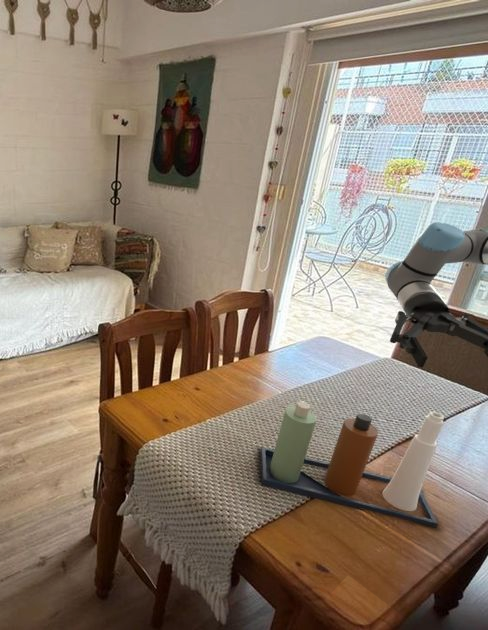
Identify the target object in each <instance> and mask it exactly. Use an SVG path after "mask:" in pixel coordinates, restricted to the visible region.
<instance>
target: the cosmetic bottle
mask: <svg viewBox="0 0 488 630" xmlns="http://www.w3.org/2000/svg"><path fill="white" fill-rule="evenodd" d="M444 420H445V416H444V415H443V414H441V413H440V412H437V411H429V413H428V414H427V415H426V416H425V417H424V420H423V422H422V424H421V427H420V429H419V431H418V433H417V434H415V435H414V436H413V438H412V440H411V441H410V444H409V445H408V447H407V449H406V451H405V453H404V455H403V457H402V459H401V461H400V463H399V465H398V467H397V468H396V471H394V474H393V476H392V477H391V478H392V479H391V481H390V482H389V483H387V486H386V487H385V488H384V489H383V490H382V492H381V494H382V497H383V499H384V500H385V501H386V502H387V503H388V504H389V505H391V506H392V507H394V508H396V509H398V510H401V511H403V512H404V511H405V512H414V511H416V510H417V508H418V502H419V499H418V498H419V494H420V491H421V490H422V487H423V485H424V481H425V479H426V476H427V473H428V471H429V469H430V466H431V464H432V461H433V458H434V455H435V452H436V450H437V446H438V443H437V439H438V437H439V435H440V432H441V431H442V428H443V426H444Z"/></svg>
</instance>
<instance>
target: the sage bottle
mask: <svg viewBox="0 0 488 630" xmlns="http://www.w3.org/2000/svg"><path fill="white" fill-rule="evenodd" d="M311 408H312V407H311V404H310V403H308V402H306V401H300V400H299V401H297V402H296V404H295V405H291V406H288V407H286V408H285V410H284V414H283V418H282V421H281V425H280V428H279V432H278V435H277V440H276V442H275V443H276V444H275V447H274V449H273V450H274V454H273V458H272V461H271V465H270V472H271V474H272V475H273V476H274V477H275V478H277V479H278V480H280V481H283V482H286V483H294V482H296V481H298V479H299V476H300V472H301V471H302V469H303V465H304V464H305V463H304V459H305V457H306V456H307V453H308V450H309V447H310V443H311V440H312V436H313V433H314V430H315V427H316V424H317V421H318V417H317V415H316V414H315V413H314V412H313V411H311Z"/></svg>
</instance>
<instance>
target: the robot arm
mask: <svg viewBox="0 0 488 630" xmlns="http://www.w3.org/2000/svg"><path fill="white" fill-rule="evenodd" d="M457 263H470V264H471V263H472V264H479V265H487V266H488V230H484V229H469V230H462V229H461V228H459V227H457V226H455V225H452V224H449V223H445V222H438V221H437V222H432V223H430V224H427V227H426V228H425V229H424V230H423V232H421V234H420V235H418V237H417V240H416V241H415V242H414V244H413V246H412V247H411V248H410V250H409V251H408V253H407V255H406V256H405V257H404V259H403V260H400V261H397V262H395V263H394V264H392V265H391V266H389V267H388V268H387V270H386V271H385V274H384V279H385V281H386V285H387V287H388V289H389V291H391V292H392V294H393V295H394V297H395V298H396V301H397V302H398V304H399V305H400V307H401V308H402V310H403V311H402V310H399V311H398V312H397V314H396V316H395V320H394V322H395V327H394V329H393V331H392V334H391V336H390V338H389V342H390V343H391V344H396V343H398V344H399V345H398V347H399V348H400V349H404V350H405V352H406V353H407V354H409V355H411V356H412V358H413V360H414V362H415V363H416V365H417V367H418V368H424V366H425V364H426V362H427V361H428V358H429V357H428V355H427V354H426V352H425V350H424V349H423V347H422V345H421V343H420V342H419V340H418V338H417V337H418V336H419V335H421V334H422V333H424V332H425V331H426V332H428V333H441V334H446V335H448V336H451V337H457V338H460V339H462V340H463V341H466V342H468V343H470V344H472V345H475V346H477V347H479V348H481V349H483V350H484V351H483V353H484V354H485V356H486V357H487V358H488V327H487V326H485V325H483V324H482V323H480V322H478V321H476V320H475V319H474V318H473V317H472V316H471V315H470V314H465V313H464V314H463V315H462V317H456V316H455V315H453V314H451V313H450V309H449V306H448V304H447V303H446V302H445V300H444V299H443V298H442V296H441V295H440V294H439V293H438V291H437V290H436V289H435V288H434V286H433V285H432V281H433V280H434V278H436V277H437V275H438V274H439V273H440V271H441V270H442V268H443V267H444V266H445V265H446V264H457ZM408 322H409V323H411V324H412V325H413V326H412V327H411V328H409V329H408V330H407V331H405V333H404V334H401V333H402V330H403V328H404V325H406V324H407V323H408ZM452 328H453V329H452Z"/></svg>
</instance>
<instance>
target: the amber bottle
mask: <svg viewBox="0 0 488 630" xmlns="http://www.w3.org/2000/svg"><path fill="white" fill-rule="evenodd" d="M372 420H373V419H372V417H371V416H370V415H368V414H365V413H357V414H356V416H355V417H348V418H345V419H344V421H343V423H342V425H341V429H340V431H339V435H338V438H337V441H336V443H335V447H334V449H333V452H332V455H331V457H330V460H329V463H330V464H329V467H328V468H327V470H326V473H325V476H324V479H323V481H324V484H325V486H326V488H327V489H328V490H329V491H331V492H332V493H334V494H336V495H338V496H343V497H351V496H354V495H355V494H356V493H357V490H358V487H359V486H360V482H361V480H362V478H363V477H362V474H363V472H364V471H365V469H366V467H367V464H368V462H369V459H370V456H371V454H372V452H373V451H372V450H373V448H374V445H375V443H376V441H377V438H378V435H379V430H378V428H377V427H376V426H375V425H374V424H372Z"/></svg>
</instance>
